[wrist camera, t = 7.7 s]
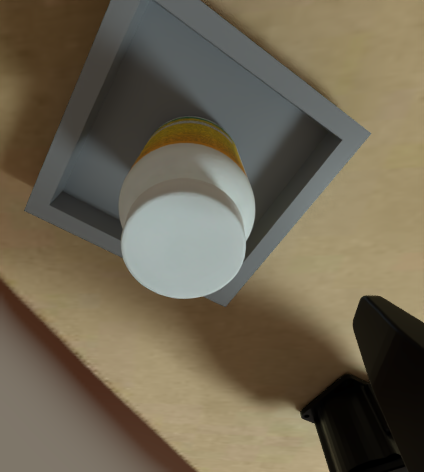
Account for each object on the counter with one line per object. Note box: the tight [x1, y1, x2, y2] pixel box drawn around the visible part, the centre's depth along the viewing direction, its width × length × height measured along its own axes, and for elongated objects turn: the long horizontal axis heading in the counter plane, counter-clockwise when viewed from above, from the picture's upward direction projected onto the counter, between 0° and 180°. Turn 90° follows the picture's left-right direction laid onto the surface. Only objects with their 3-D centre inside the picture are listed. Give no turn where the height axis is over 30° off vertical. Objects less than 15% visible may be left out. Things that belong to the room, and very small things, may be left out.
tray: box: [24, 0, 371, 307], centre depth 18 cm, size 13×13×2 cm
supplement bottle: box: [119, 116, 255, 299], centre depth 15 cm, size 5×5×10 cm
